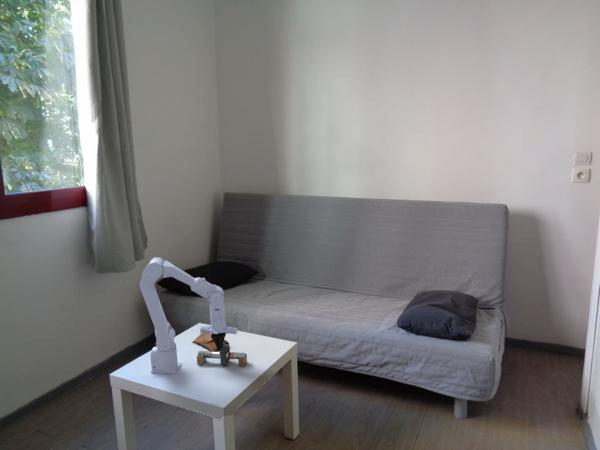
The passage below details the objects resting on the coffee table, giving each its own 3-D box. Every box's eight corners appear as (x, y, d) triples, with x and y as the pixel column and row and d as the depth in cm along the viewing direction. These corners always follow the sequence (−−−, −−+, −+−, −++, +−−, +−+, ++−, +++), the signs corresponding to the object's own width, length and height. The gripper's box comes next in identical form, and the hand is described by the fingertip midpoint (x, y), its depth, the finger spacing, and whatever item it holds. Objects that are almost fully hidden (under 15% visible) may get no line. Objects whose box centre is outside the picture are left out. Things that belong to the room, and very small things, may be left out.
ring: (220, 365, 178) (219, 350, 176) (225, 358, 183) (224, 343, 182) (225, 365, 177) (224, 350, 176) (230, 358, 183) (229, 344, 182)
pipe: (197, 364, 180) (196, 353, 179) (200, 360, 184) (200, 348, 183) (244, 366, 177) (243, 355, 176) (247, 362, 181) (246, 350, 180)
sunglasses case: (189, 342, 201) (195, 327, 203) (201, 345, 206) (207, 330, 208) (213, 353, 189) (219, 338, 191) (225, 356, 194) (231, 341, 196)
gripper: (196, 321, 174) (198, 354, 177) (232, 322, 172) (234, 355, 175) (202, 314, 181) (205, 346, 184) (237, 315, 179) (239, 347, 182)
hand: (219, 350), depth 180 cm, fingers closed
